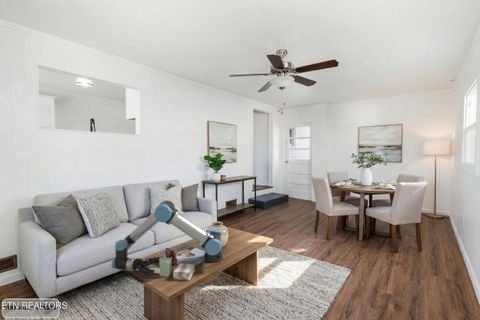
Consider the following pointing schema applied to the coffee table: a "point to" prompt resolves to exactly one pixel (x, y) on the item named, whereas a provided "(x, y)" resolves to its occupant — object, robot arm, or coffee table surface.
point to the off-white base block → (184, 271)
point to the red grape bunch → (171, 255)
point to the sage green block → (165, 266)
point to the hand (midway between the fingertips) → (164, 265)
